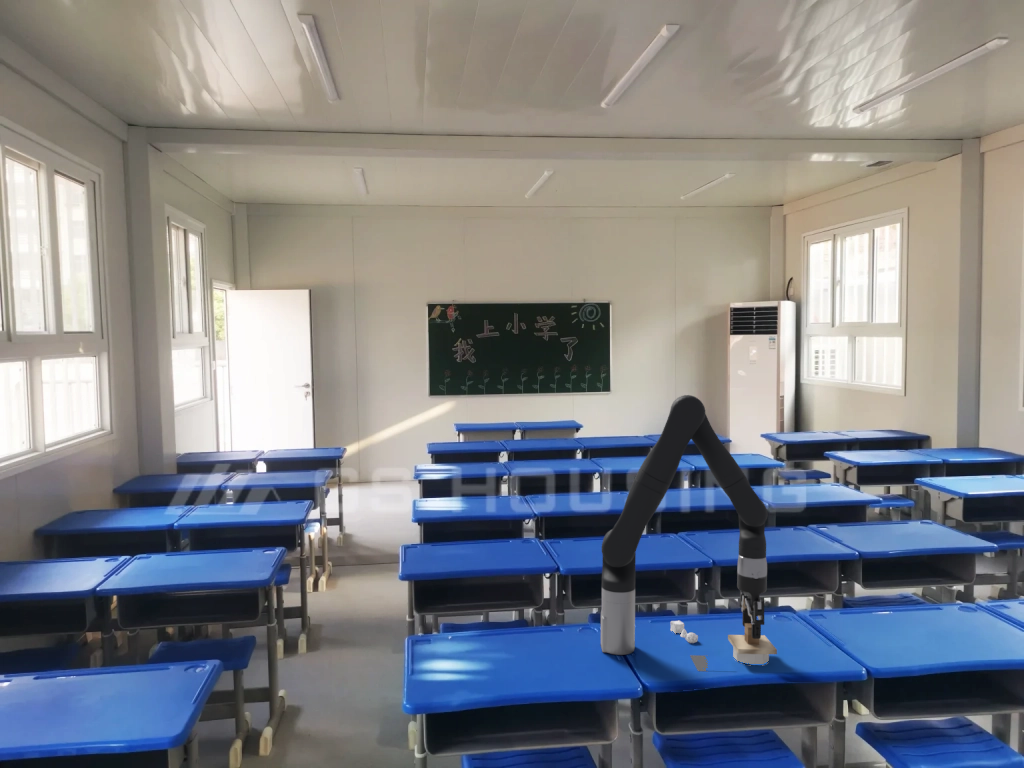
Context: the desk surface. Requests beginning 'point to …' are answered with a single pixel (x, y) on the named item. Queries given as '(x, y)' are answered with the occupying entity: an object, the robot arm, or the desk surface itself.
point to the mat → (699, 662)
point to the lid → (751, 643)
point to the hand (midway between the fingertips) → (751, 632)
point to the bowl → (751, 658)
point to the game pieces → (683, 631)
